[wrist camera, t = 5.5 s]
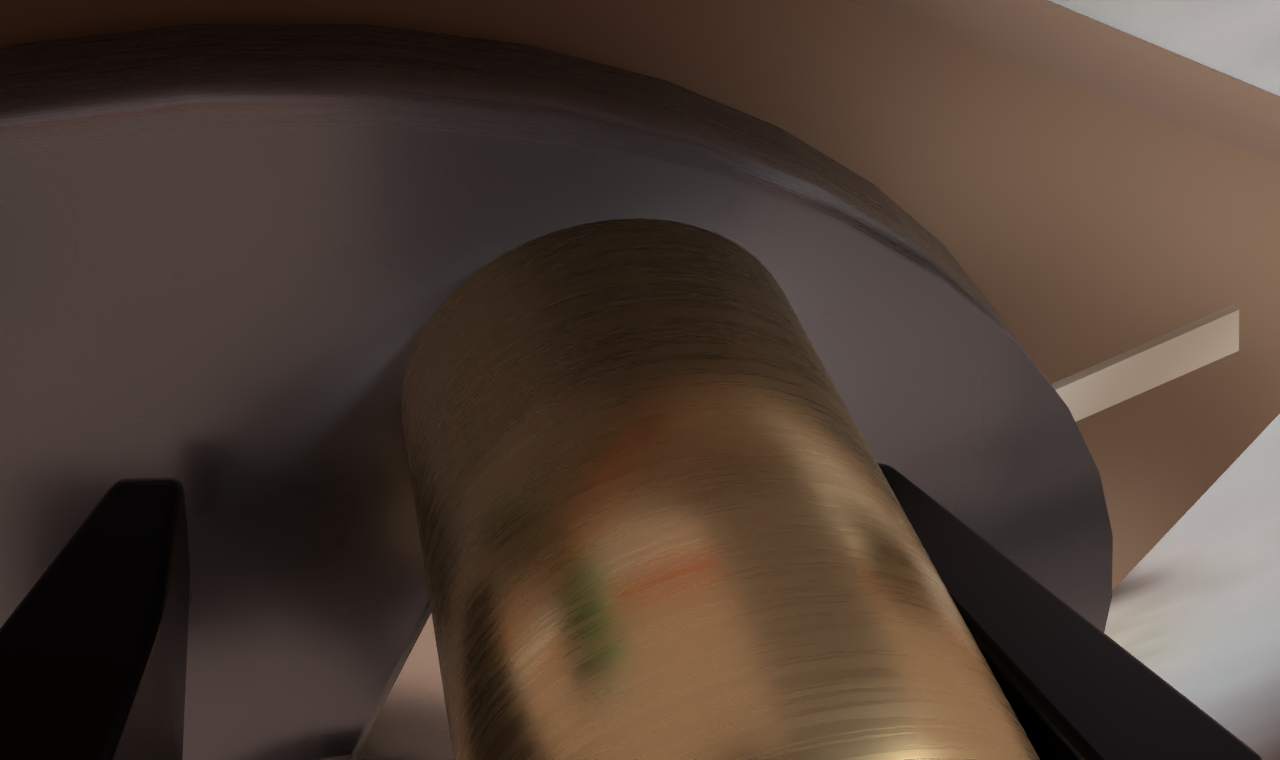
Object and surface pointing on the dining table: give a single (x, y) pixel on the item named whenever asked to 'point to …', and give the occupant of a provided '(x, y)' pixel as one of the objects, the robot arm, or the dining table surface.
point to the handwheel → (512, 403)
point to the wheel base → (967, 181)
